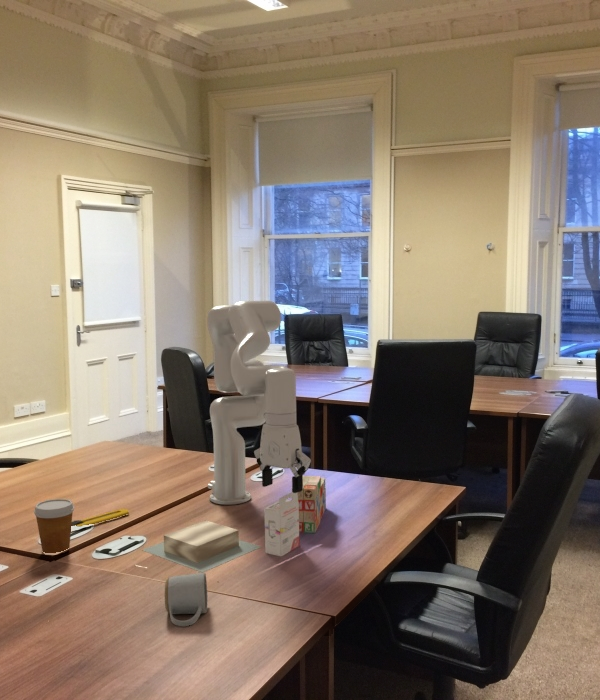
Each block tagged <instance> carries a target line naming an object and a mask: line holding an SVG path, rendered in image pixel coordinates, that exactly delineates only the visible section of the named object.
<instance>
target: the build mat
mask: <svg viewBox="0 0 600 700" xmlns="http://www.w3.org/2000/svg"><path fill="white" fill-rule="evenodd" d="M260 548H262V546H261V545H257V544H254V543H251V542H249V541H244V540H241V539H239V546H237V547H234V548H232V549H230V550H227V551H225V552H222V553H220V554H218V555H215V556H213V557H210V558H208V559H206V560H203V561H201V562H198V563H196V562H193V561H191V560H188V559H185V558H182V557H179V556H177V555H174V554H171V553H168V552H165V551H164V541H162V542H159V543H156V544H154V545H151V546H148V547H146V548H143V549H141V551H144V552H146V553H148V554H151V555H154V556H155V557H156V556H157V557H159V558H162V559H164V560H167V561H170V562H173V563H175V564H178V565H181V566H184V567H187V568H189V569H191V570H194V571H198V572H199V573H206V572H207V571H210V570H212V569H213V568H217V567H218V566H222V565H223V564H226V563H228V562H229V561H232V560H235V559H237V558H239V557H242V556H243V555H246V554H249V553H250V552H254V551H255V550H258V549H260Z"/></svg>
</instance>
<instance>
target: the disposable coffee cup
mask: <svg viewBox="0 0 600 700" xmlns="http://www.w3.org/2000/svg"><path fill="white" fill-rule="evenodd" d="M34 508H35V509H34V510H33V514H34V516H35V518H36V522H37V528H38V534H39V539H40V545H41V551H43V552H45V553H56V552H61V551H64V550H66V549H68V548H69V549H70V546H71V544H70V543H71V534H72V532H71V525H72V522H73V512H74V510H75V505H74V504H73V501H72V500H70V499H67V498H53V499H48V500H44V501H40V502H38V503H36V504H35V507H34ZM43 552H42V553H43Z"/></svg>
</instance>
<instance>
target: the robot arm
mask: <svg viewBox="0 0 600 700" xmlns="http://www.w3.org/2000/svg"><path fill="white" fill-rule="evenodd" d="M281 323H282V313H281V311H280V308H279V306H278V305H277V304H276V302H274V301H271V300H244V301H243V300H241V301H238V302H235V303H233V304H226V305H224V304H223V305H218V306H214V307H212V308H211V309H210V310H209V311H208V312H207V316H206V324H207V329H208V334H209V336H210V340H211V342H212V345H213V347H212V348H213V379H214V380H213V381H214V386H215V389H216V390H217V391H218V392H221V393H239V394H240V395H232V396H222V397H219V398H216V399H214V400H213V401H212V402H211V403H210V407H209V416H210V421H211V428H212V437H213V438H212V440H213V472H214V473H213V474H214V475H213V478H214V480H211V481H210V483H208V484H207V488H208V489H210V490H212V491H211V492H212V493H211V494H210V495H209V501H210V502H212V503H213V504H217V505H238V504H244V503H246V502H248V501H250V500H251V497H252V494H251V493H250V492H249V491H248V490H246V487H247V486H246V484H247V483H246V482H247V481H246V443H245V442H246V441H245V440H244V437H243V436H242V435H241V434H240V432H239V431H238V430H237V429H239V428H247V427H257V426H262V429H261V435H260V445H259V446H260V447H259V448H257V449H255V450H254V451H253V453H254V457H255V459H256V464H257V465H258V466H259V470H260V471H261V482H262V483H261V485H262V487H264V488H265V487H269V486H272V485H273V482H274V481H273V468H271V467H274V468H280V469H287V470H288V469H290V471H291V473H292V474H293V476H292V477H291V487H292V488H291V492H293V493H297V492H300V491H302V490H303V476H305V474H306V472H307V471H309V467H310V464H311V462H312V460H311V458H310V457H309V456H307V455H306V453H304V452H303V451H302V440H301V433H300V429H299V425H298V424H297V379H296V372H295V371H294V369H292V368H289V367H287V366H286V365H283V364H272V365H271V364H270V365H269V364H268V365H267V364H264V363H263V362H262V361H260V360H256V359H255V358H256V357H258V356H261V355H262V354H263V353H265V352H266V351H267V349H268V348H269V346H270V344H271V338H270V334H269V332H270V333H271V332H274V331H276V330H278V329H279V328H280V325H281Z"/></svg>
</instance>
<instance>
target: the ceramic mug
mask: <svg viewBox="0 0 600 700" xmlns="http://www.w3.org/2000/svg"><path fill="white" fill-rule="evenodd" d="M207 581H208V580H207V574H206V572H203V573H202V572H199V573H191V574H183V575H174V576H171V577H168V578H167V579H166V580H165V583H164V606H165V611H166V613H168V614H169V616H170V621H171V623H172V624H174V625H175V626H177V625H178V626H177V627H180V626H187V627H190V626H192V625H193V624H195V623H196V622H197V621H199V618H200V615H201V614H206V613H207V611H208V584H207V583H208V582H207ZM187 614H188V615H189V614H191V615H193V616H192V617H190V618H189V619H187V620H180V619H177V618H175V617H174V615H187ZM189 625H190V626H189Z"/></svg>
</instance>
